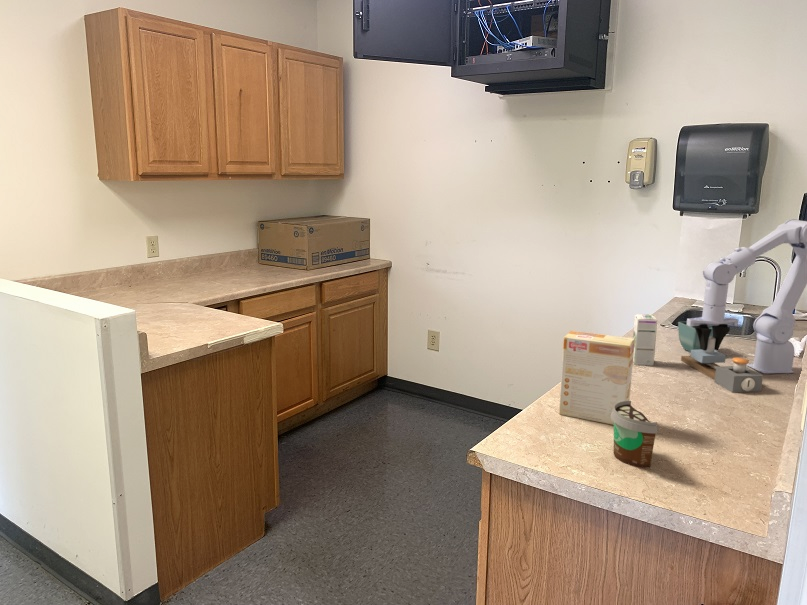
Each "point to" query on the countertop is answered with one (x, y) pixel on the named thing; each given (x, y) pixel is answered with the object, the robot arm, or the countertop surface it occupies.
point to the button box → (738, 379)
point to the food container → (632, 435)
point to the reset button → (739, 365)
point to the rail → (701, 366)
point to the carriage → (708, 353)
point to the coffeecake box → (595, 375)
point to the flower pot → (689, 336)
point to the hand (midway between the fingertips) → (709, 349)
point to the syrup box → (644, 339)
